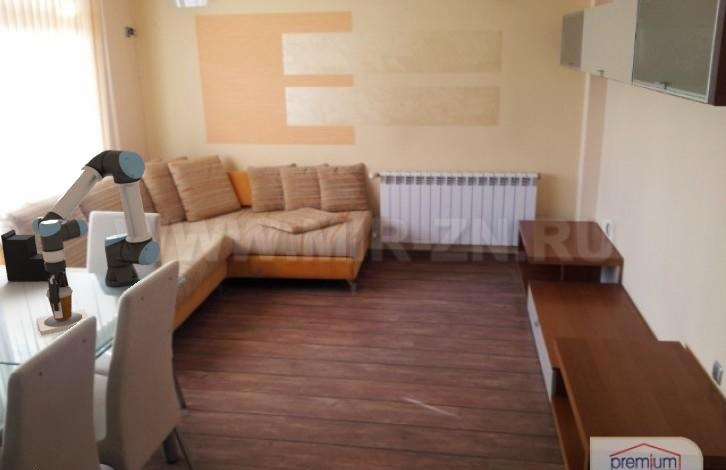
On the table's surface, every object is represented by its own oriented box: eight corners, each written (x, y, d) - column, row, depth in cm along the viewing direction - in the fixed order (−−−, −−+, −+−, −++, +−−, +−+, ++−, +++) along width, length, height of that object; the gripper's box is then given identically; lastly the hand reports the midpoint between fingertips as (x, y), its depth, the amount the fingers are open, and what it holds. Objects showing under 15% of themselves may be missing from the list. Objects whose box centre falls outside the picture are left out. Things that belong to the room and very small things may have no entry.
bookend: (66, 274, 300) (59, 229, 293) (56, 281, 289) (49, 234, 283) (19, 274, 299) (11, 229, 293) (7, 282, 289) (-1, 235, 282)
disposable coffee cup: (52, 314, 244) (47, 286, 241) (77, 311, 247) (73, 284, 244) (47, 323, 236) (43, 295, 232) (74, 320, 238) (70, 292, 235)
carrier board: (84, 312, 253) (84, 308, 252) (91, 324, 241) (90, 320, 240) (36, 321, 243) (36, 318, 243) (41, 334, 231) (40, 331, 231)
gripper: (53, 252, 244) (61, 304, 250) (34, 268, 224) (43, 324, 230) (73, 251, 245) (80, 303, 251) (55, 267, 225) (64, 323, 231)
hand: (62, 313), depth 241 cm, fingers closed on disposable coffee cup, 8 cm apart
